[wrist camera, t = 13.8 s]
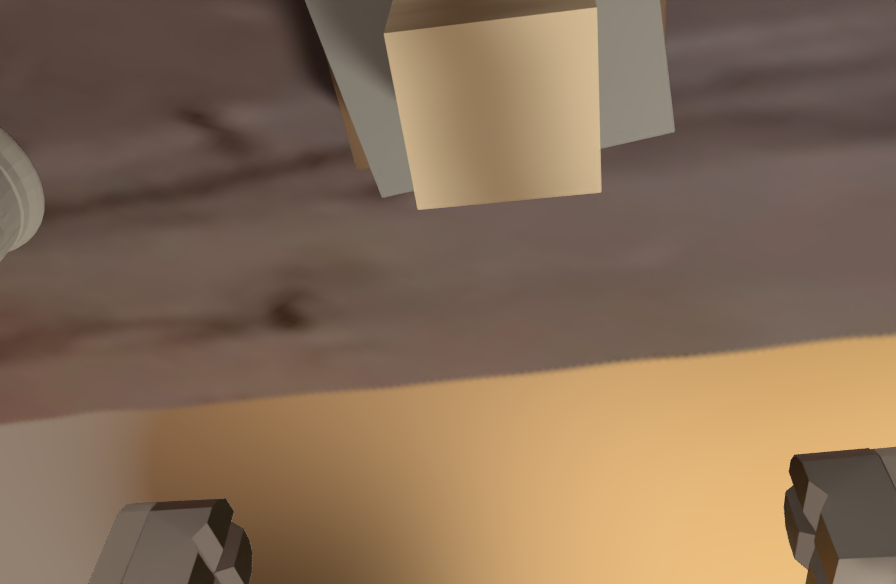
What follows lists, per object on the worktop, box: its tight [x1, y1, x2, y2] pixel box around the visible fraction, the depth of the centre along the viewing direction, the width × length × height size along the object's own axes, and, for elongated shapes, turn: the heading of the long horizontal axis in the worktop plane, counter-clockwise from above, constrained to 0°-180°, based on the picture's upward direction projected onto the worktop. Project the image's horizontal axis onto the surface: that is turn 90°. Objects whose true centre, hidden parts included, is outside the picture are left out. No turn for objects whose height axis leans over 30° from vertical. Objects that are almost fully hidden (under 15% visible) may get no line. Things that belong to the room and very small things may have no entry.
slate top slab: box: [305, 0, 675, 198], centre depth 25 cm, size 10×10×4 cm
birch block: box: [384, 0, 601, 210], centre depth 22 cm, size 5×5×5 cm
